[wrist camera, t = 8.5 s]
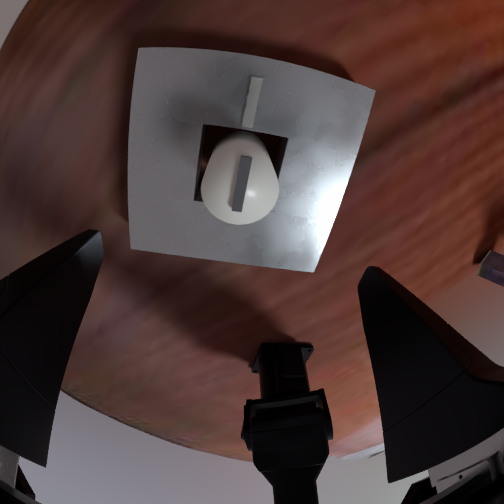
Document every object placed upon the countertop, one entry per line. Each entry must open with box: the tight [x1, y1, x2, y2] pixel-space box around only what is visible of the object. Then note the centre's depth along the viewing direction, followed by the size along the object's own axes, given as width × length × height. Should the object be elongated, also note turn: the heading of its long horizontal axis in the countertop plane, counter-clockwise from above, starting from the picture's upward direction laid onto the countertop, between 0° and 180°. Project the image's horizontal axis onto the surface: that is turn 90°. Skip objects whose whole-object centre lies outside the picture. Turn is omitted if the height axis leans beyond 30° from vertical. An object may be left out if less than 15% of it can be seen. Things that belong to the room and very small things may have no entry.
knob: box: [201, 131, 279, 225], centre depth 15 cm, size 4×4×6 cm
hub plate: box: [128, 47, 375, 272], centre depth 17 cm, size 14×14×3 cm
